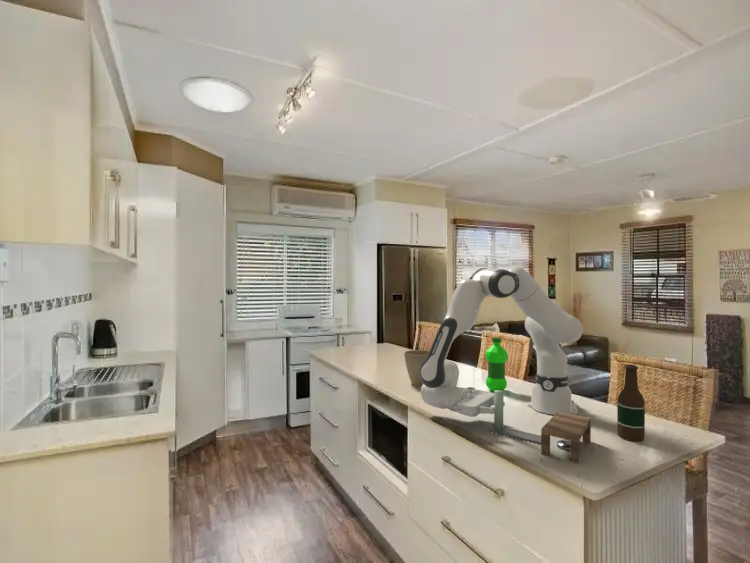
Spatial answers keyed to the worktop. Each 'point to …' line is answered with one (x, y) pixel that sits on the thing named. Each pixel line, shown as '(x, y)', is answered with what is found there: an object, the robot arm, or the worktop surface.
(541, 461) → the worktop surface
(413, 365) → the plant pot
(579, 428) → the bench
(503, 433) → the cylinder
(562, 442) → the silver flat disc
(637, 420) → the beer bottle
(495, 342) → the plastic bottle
